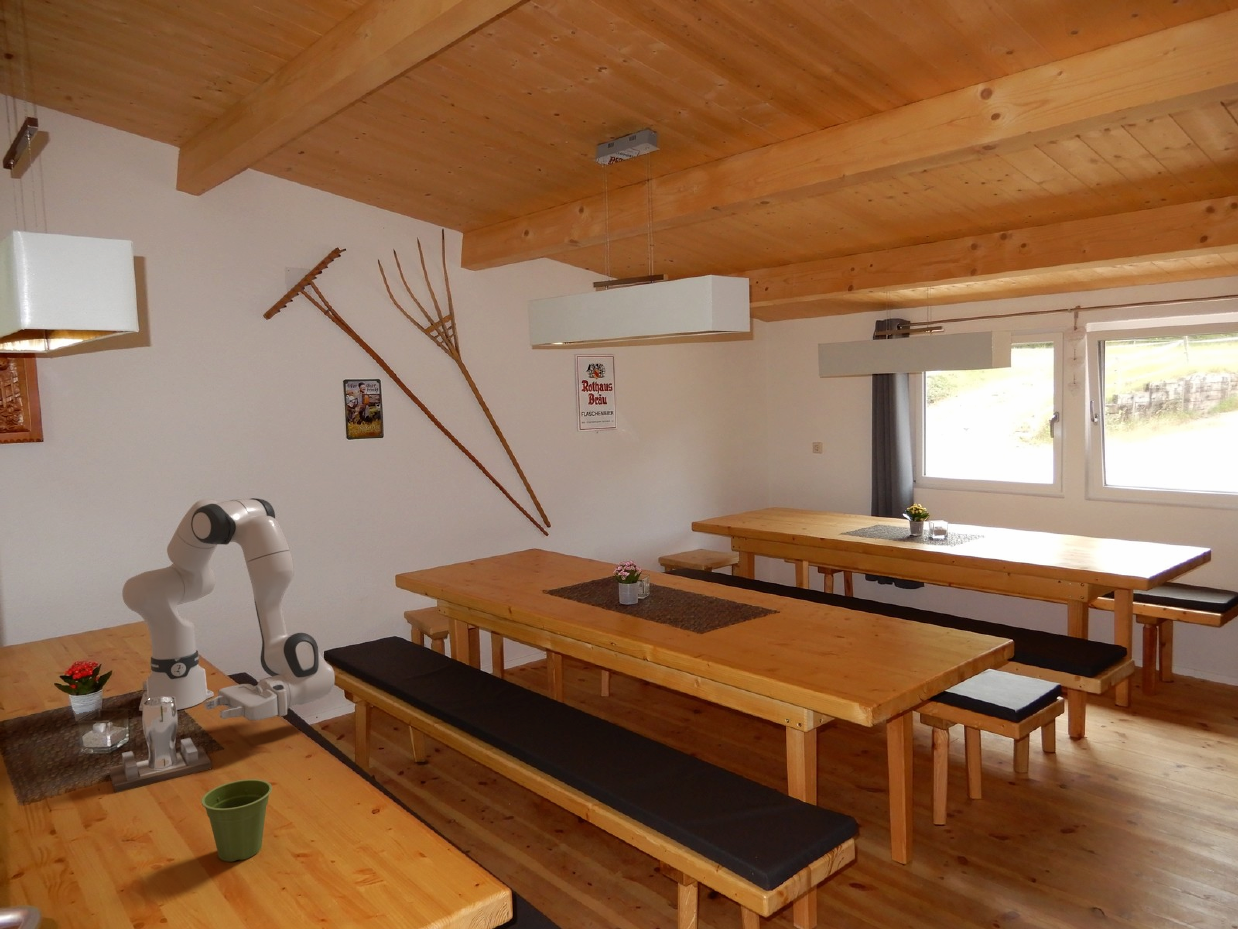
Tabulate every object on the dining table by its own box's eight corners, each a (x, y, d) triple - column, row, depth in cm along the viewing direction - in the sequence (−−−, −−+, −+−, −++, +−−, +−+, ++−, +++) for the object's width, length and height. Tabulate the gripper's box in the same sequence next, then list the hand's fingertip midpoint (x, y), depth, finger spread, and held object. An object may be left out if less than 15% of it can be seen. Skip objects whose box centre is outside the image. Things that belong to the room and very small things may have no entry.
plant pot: (191, 870, 147) (187, 808, 146) (226, 836, 158) (222, 779, 158) (256, 870, 146) (252, 808, 145) (286, 836, 158) (283, 779, 157)
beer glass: (165, 772, 184) (161, 706, 183) (138, 770, 185) (133, 705, 184) (187, 759, 191) (183, 696, 190) (160, 758, 192) (156, 694, 191)
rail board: (109, 774, 188) (108, 754, 187) (201, 752, 199) (200, 733, 199) (115, 792, 178) (113, 772, 178) (211, 768, 189) (210, 749, 189)
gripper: (252, 674, 214) (196, 688, 204) (288, 691, 199) (229, 707, 189) (254, 698, 214) (197, 713, 204) (289, 716, 200) (230, 733, 190)
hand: (213, 710), depth 197 cm, fingers open, 8 cm apart
